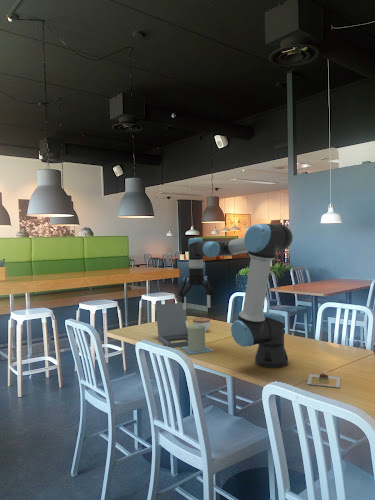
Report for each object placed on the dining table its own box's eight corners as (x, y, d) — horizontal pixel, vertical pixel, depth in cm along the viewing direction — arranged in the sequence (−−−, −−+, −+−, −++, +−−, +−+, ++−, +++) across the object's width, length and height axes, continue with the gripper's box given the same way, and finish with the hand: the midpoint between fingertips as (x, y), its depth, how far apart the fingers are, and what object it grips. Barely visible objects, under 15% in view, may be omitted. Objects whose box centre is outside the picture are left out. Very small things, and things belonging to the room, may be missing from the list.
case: (199, 344, 219) (198, 308, 218) (167, 348, 213) (167, 310, 212) (185, 335, 240) (184, 302, 240) (156, 338, 234) (155, 304, 234)
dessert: (307, 386, 156) (307, 374, 156) (309, 376, 167) (309, 365, 167) (340, 390, 152) (339, 377, 152) (340, 379, 163) (339, 368, 163)
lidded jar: (213, 330, 252) (213, 315, 252) (204, 334, 243) (204, 318, 243) (198, 328, 258) (198, 314, 258) (189, 332, 249) (189, 317, 248)
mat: (213, 351, 205) (213, 350, 205) (189, 354, 200) (189, 353, 200) (203, 345, 217) (203, 344, 217) (180, 348, 212) (180, 347, 212)
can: (204, 351, 203) (203, 327, 203) (186, 350, 205) (185, 327, 205) (206, 346, 212) (206, 324, 212) (189, 346, 214) (189, 323, 214)
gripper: (214, 266, 215) (215, 305, 216) (170, 268, 207) (171, 309, 207) (220, 267, 208) (221, 307, 209) (175, 269, 200) (176, 311, 200)
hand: (196, 308), depth 208 cm, fingers open, 13 cm apart
